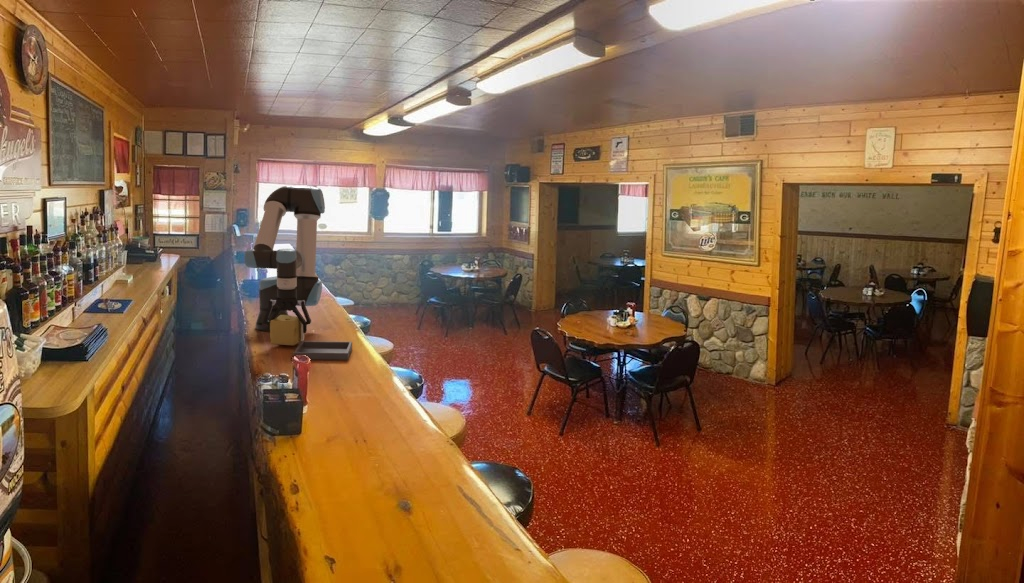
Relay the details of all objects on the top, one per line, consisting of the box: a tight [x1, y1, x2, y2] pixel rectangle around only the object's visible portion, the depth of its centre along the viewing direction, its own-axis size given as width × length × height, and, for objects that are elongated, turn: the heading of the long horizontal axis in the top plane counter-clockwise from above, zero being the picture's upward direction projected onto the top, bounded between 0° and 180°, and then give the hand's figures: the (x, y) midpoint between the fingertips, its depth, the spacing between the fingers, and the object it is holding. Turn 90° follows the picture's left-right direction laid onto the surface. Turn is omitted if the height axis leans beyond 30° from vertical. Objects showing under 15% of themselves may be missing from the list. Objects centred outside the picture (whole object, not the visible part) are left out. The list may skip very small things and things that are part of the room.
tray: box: [292, 340, 353, 362], centre depth 254 cm, size 18×20×3 cm
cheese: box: [269, 314, 306, 346], centre depth 262 cm, size 10×11×10 cm
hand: (287, 340), depth 263 cm, fingers closed on cheese, 11 cm apart
